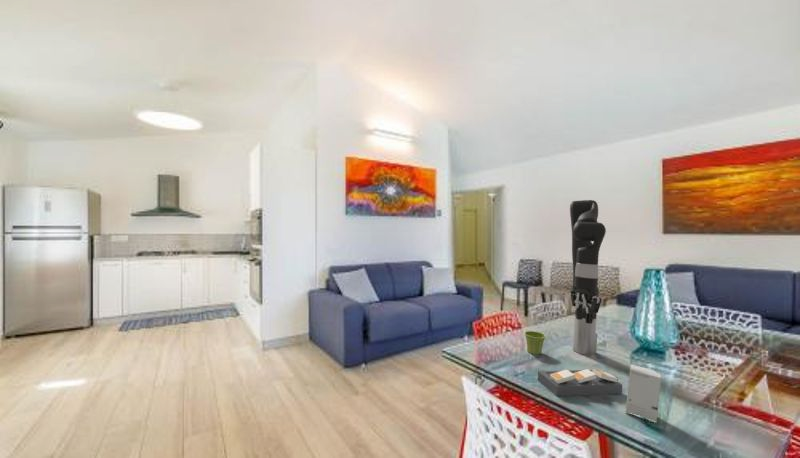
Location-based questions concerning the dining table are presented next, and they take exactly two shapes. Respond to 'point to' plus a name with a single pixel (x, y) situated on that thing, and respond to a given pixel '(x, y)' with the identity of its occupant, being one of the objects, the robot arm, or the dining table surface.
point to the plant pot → (534, 341)
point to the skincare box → (643, 392)
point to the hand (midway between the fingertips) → (583, 321)
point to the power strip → (579, 385)
